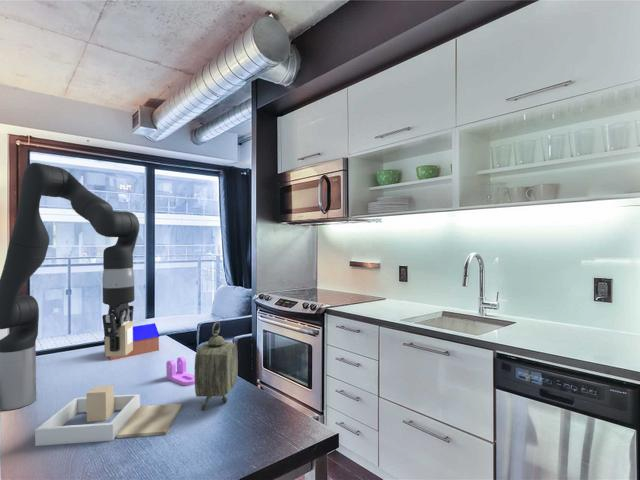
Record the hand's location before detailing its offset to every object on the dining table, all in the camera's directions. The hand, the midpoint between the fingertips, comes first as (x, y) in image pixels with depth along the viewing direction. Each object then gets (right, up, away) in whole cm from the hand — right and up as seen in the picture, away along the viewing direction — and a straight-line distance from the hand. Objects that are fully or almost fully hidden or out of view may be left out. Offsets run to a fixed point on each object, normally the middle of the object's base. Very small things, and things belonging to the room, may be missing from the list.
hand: (119, 347), depth 98 cm
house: (-30, -22, +65) cm, 75 cm away
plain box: (-8, -21, +6) cm, 24 cm away
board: (+7, -21, +3) cm, 23 cm away
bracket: (+5, -21, +32) cm, 39 cm away
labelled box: (0, -1, 0) cm, 1 cm away
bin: (-8, -21, +1) cm, 23 cm away
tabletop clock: (+23, -21, +14) cm, 34 cm away
